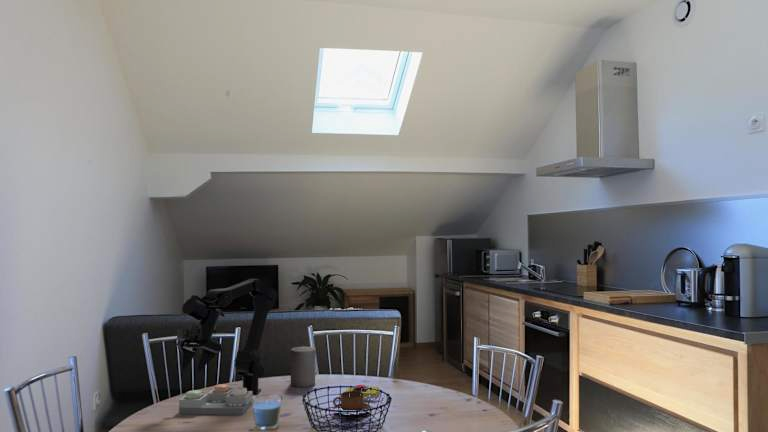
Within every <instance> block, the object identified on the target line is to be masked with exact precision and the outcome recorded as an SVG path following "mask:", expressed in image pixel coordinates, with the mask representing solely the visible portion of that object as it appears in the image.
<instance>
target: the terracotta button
mask: <svg viewBox="0 0 768 432" xmlns="http://www.w3.org/2000/svg"><path fill="white" fill-rule="evenodd" d="M229 388H230V385H229V384H225V383H222V384H221V383H219V384H216V385H214V388H213V389H214V393H227V392H228V391H229Z"/></svg>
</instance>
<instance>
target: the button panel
mask: <svg viewBox="0 0 768 432" xmlns="http://www.w3.org/2000/svg"><path fill="white" fill-rule="evenodd" d="M234 388H235V387H229V391H228V392H227V393H214V388H213V389H211V390H210V391H209V392H207V393H202V397H201V398H200V399H186V395H184V396H182V397H181V398H180V399H179V400H178V414H179V415H181V414H183V415H237V416H238V415H239V416H241V415H244V414H245V413H246V412H247V411H248V410H249V409H250V408H251V407H252V406H253V405H252V401H251V398H252V397H253V396H256V397H257V395H253V391H247V395H246V396H232V389H234ZM251 405H252V406H251Z"/></svg>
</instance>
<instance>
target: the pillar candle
mask: <svg viewBox="0 0 768 432" xmlns="http://www.w3.org/2000/svg"><path fill="white" fill-rule="evenodd" d="M289 383H290V386H291V387H297V388H307V387H312V386H314V385H315V384H316V348H315V347H314V346H296V347H292V348H290V382H289Z"/></svg>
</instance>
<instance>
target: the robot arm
mask: <svg viewBox="0 0 768 432" xmlns="http://www.w3.org/2000/svg"><path fill="white" fill-rule="evenodd" d="M248 293H249V294H250V296H252V297H253V301H252V303H253V306H254V312H253V316H252V318H251V319H252V320H251V323H250V325H249V326H250V327H249V329H248V335H247V337H246V341H245V345H244V347H243V348H242V349H241V350H237V352H236V356H235V359H234V368H235V371H236V374H237V376H240V377H242V388H247V391H253V395H256V396H257V395H258V394H259V393H260V392H261V391H262V388H259V378H262V377H263V376H264V375H265V368H264V367H263V366H262V364H260V360H261V356H260V352H259V347H260V345H261V340H262V336H263V333H264V328H265V325H266V320H267V318H268V314H269V312H270V311H271V310H272V309H273V308H274V306H275V304H276V302H277V299H278V293H277V291H276V289H275V288H273V287H271V286H270V285H268V284H266V283H264V282H263V281H261V280H260V279H257V278H249V279H246V280H244V281H242V282H240V283H237V284H234V285H231V286H229V287H226V288H215V289H213V288H212V289H209V290H208V291H206V294H204V295H203V296H202V297H200V296H198V295H197V294H195V295H194V294H192V295H191V296H190V298H188V299H187V300H186V301H185V302H184V303H183V305H182V308H181V309H182V310H181V311H182V313H183V314H184V315H186V316H188V317H190V318H192V319H194V320H195V321H198V322H197V324H195V325H189V326H188V328H177V335H176V340H177V339H178V340H177V342H176V345H175V346H176V347H177V349H178V350H179V352H180V356H181V357H180V358H181V359H180V371H182V372H184V371H185V370H186V369H187V367H188V365H189V364H190V363H191V362H192V360H193V359H194V358H195V357H196V354H197V351H198V352H199V356H198V359H197V363H196V368H195V372H196V373H199V372H201V371H202V369H203V368H205V366H206V365H207V364H209V362H210V361H211V360H212V359H213V358H215V356H217V355H218V353H219V354H221V352H222V349H223V346H222V343H220V342H218V341H215V340H214V339H212V338H213V335H215V334H217V330H216V326H217V323H218V321H219V318H225V316H226V315H225V313H224V312H223V309H222V308H224V307H227V306H228V305H229V304H231V303H232V302H233V300H234V299H236V298H239V297H241V296H243V295H246V294H248ZM215 307H216V308H215ZM217 307H218V308H217Z"/></svg>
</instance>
